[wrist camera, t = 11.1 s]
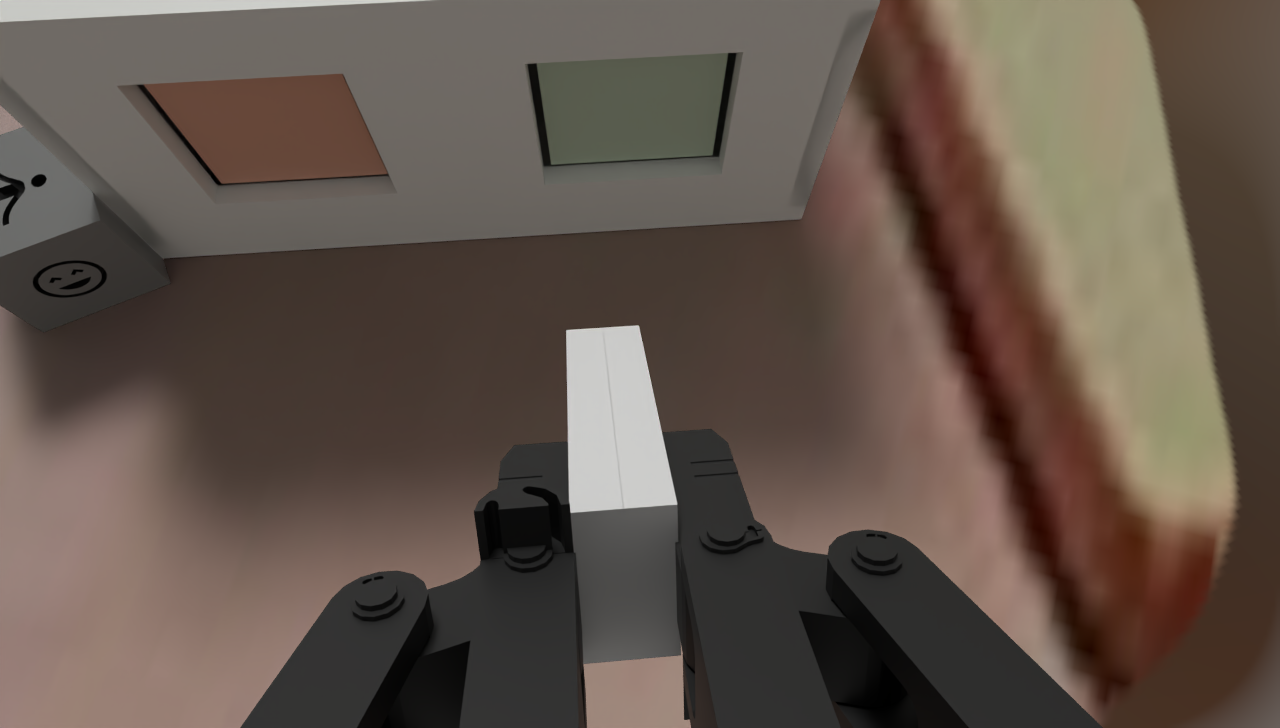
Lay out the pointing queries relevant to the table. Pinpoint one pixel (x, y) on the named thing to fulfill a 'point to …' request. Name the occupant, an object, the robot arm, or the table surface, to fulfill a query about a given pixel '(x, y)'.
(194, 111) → the terracotta button
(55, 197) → the dice cube
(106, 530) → the table surface
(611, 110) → the sage button
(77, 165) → the box
